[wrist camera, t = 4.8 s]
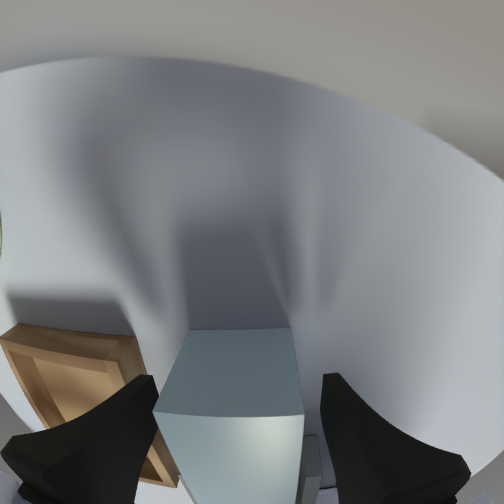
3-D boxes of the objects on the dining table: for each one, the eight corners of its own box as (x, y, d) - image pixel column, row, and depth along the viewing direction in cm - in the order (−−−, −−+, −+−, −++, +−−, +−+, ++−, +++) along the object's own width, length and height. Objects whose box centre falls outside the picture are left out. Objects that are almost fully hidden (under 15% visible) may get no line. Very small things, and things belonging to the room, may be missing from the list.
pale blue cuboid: (289, 429, 15) (294, 505, 10) (212, 429, 16) (197, 503, 10) (290, 326, 13) (304, 414, 8) (190, 329, 14) (152, 411, 8)
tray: (182, 464, 17) (176, 488, 14) (77, 440, 17) (67, 457, 15) (135, 336, 14) (116, 362, 11) (18, 323, 14) (-2, 338, 12)
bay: (310, 472, 17) (314, 506, 13) (202, 473, 17) (196, 506, 14) (316, 435, 15) (323, 475, 12) (188, 436, 16) (177, 474, 12)
